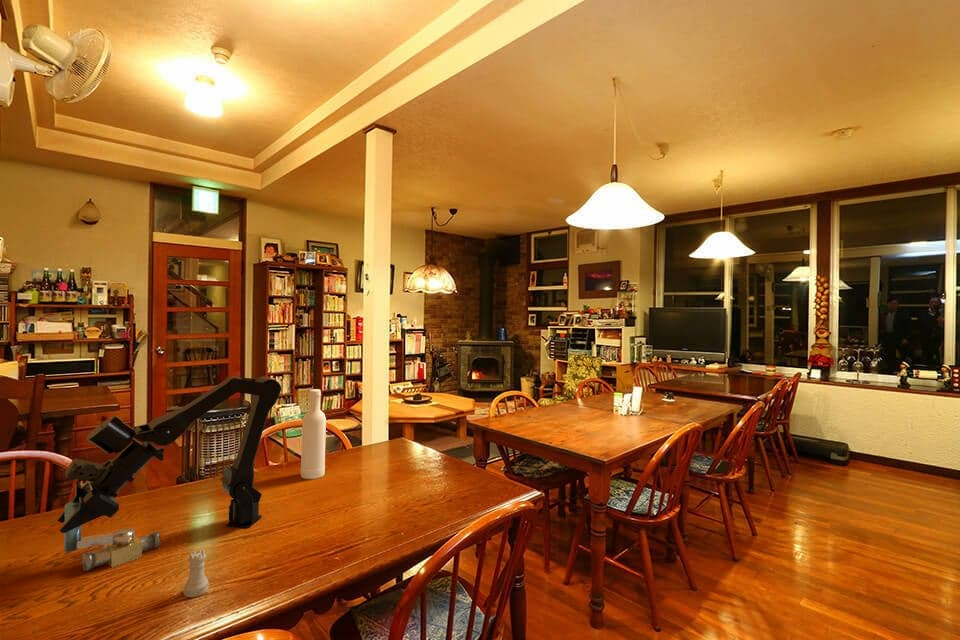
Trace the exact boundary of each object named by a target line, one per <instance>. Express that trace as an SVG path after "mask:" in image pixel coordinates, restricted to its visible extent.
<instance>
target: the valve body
mask: <svg viewBox="0 0 960 640" xmlns="http://www.w3.org/2000/svg"><path fill="white" fill-rule="evenodd" d="M161 539H162V538H161V534H160V531H158V530H155V531H152V532H151V531H150V534H147V535H144V536H141V537H137V536H136V534H134V540H133V541H131V542H129V543H127V544H123V545H113V544H106V545H103V548H102V549H99V550H96V551H93V552H92V551H87V552H84V553H82V556H81V557H82V560H81V561H82V568H83V571H84V572H89V571H91V570H93V569H95V568H97V567H100V566H103V565H106V564H108V566H109V567H110V566H111V567H112V568H114V566H115V567H117V565H118V566H121V565H123V563H124V564H126V562H127V563H130V562H132V560H133V561H135V559H136V560H138V558H139V559H141V558H143V552H145V551H148V550H151V549H153V548H154V549H156V548H159V547H160V546H161V543H162V541H161ZM129 561H130V562H129ZM120 564H121V565H120ZM111 567H110V568H111Z"/></svg>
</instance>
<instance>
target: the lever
mask: <svg viewBox="0 0 960 640" xmlns="http://www.w3.org/2000/svg"><path fill="white" fill-rule="evenodd" d="M78 507H79V501H73V502H71V501H69V502H67V503H65V504H64V510H65V522H64V524H65V523H66V522H67V520H68V519H69V518H70V517H71V516H72V515H73V513H74V512H75V511H76V510H77V509H78ZM134 535H135V529H134V528H133V527H126V528H121V529H120V528H119V529H118V530H115V531H114V532H110V533H109V532H108V533H103V534H95V535H88V536H82V525H81V526H79V527H77V528H74V529H72V530H70V531H68V532H66V533H63V536H64V537H63V538H64V539H63V540H64V541H63V551H64V553H68V552H74V551H77V550H79V549H85V548H90V547H98V546H104V545H106V544H113V545H123V544H127V543H129V542H131V541H133V540H134Z"/></svg>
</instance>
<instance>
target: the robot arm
mask: <svg viewBox="0 0 960 640" xmlns="http://www.w3.org/2000/svg"><path fill="white" fill-rule="evenodd" d="M281 392H282V385H281V384H280V382H279V381H278V380H276V379H273V378H270V377H268V376H260V377H259V376H258V378H251V377H250V378H249V377H238V376H235V375H230V376H227V377H226V378H225V379H224V380H223V381H222V382H220V383H219V384H217V385H216V386H214V387H212V388H210V389H209V390H207V391H206V392H204V393H203V394H201V395H200V396H198V397H196V398H195V399H193V400H192V401H190V402H189V403H188V404H187V403H186V404H185V405H184V406H182V407H181V408H178V409H175V410H173V411H170V412H167V413H165V414H163V415H160V416H158V417H156V418H153V419H152V420H151V421H150V422H149V423H145V424H141V425H137V426H132V427H131V426H130V425H129V424H127V423H125V422H124V421H123V420H122V419H121V418H120V417H119V416H117V415H115V414H114V415H112V417H111V418H109V419H106V420H105V421H104V422H102V423H100V424H98V425H96V427H95V428H93V430H91V432H90V433H88V435H87V436H86V438H85V440H86V441H88V442H89V443H92V444H93V445H94V446H96V447H97V448H99V449H100V450H102V451H104V452H105V453H107V454H108V455H112V454H113V453H114V454H118V455H116V457H115V458H113V459H110V458H109V459H107V460H105V461H104V462H103V463H98V462H95V461H90V460H85V459H80V458H73V459H72V460H71V462H70V463H69V465H68V467H67V468H66V470H65V472H64V475H65V479H68V480H73V481H74V480H75V481H77V482H75V485H74V486H75V487H74V489H75V494H74V496H73V497H72V499H71V500H70V502H73V501H79V507H78V509H77V510H76V511H75V512H74V513H73V515H72V516H71V517H70V518H69V519H68V520H67V522H66V523H65V509H64V510H63V511H62V513H61V514H60V516H59V517H58V519H57V522H58V523H60V524H63V523H64V524H63V525H62V526H61V528H59V532H60V533H62V534H64V533H66V532H68V531H70V530H72V529H74V528H77V527H79V526H81V527H82V525H85V524H87V523H90V522H91V521H93V520H96V519H98V518H101V517H105V516H106V517H107V518H108V519H109V518H110V519H111V518H112V517H114V516H115V515H116V514H117V512H119V510H120V503H119V501H118V499H117V498H116V497H118V496H119V491H120V490H121V489H122V488H123V487H124V486H125V485H126V484H127V483H128V482H129V483H133V481H134V480H135V479H136V478H135V477H134V476H135V475H137V473H138V472H139V471H140V470H141V469H142V468H144V466H146V465H147V463H149V462H150V461H151V460H152V459H153V458H154V457H155V459H157V460H159V461H161V462H162V461H164V460H165V459H164V451H165V448H164V447H163V446H165V447H166V446H168V445H171V444H173V443H174V442H176V441H177V440H178V439H179V438H180V437H181V436H183V434H184V433H185V432H186V431H187V429H188V428H189V427H190V426H191V425H192V424H193V423H194V422H196V421H197V420H198V419H199V418H201V417H202V416H204V415H205V414H207V413H208V412H210V411H211V410H213V409H215V408H216V407H217V406H219V405H220V404H222V403H224V402H225V401H227V400H228V399H229V398H231V397H232V396H234V395H236V394H237V393H239V394H245V395H246V394H247V395H250V411H249V414H248V417H247V420H246V421H247V422H246V424H245V427H244V431H243V435H242V438H241V440H240V444H239V447H238V451H237V454H236V457H235V459H234V461H233V462H232V464H231V465H227V464H226V465H225V466H224V471H223V475H222V476H221V478H220V479H219V481H221V485H222V489H223V490H224V492H226V494H227V495H228V496H230V498H231V500H230V505H228V522H227V523H226V524H225V525H226V527H235V528H251V527H252V526H253V525H254V524H255V523H257V522H258V521H259V520H261V519H262V517H263V515H261V514H259V512H260V511H259V509H260V500H261V498H262V495H263V494H262V493H261V492H260V491H259V490H258V489H257V488H256V487H254V479H255V475H254V474H255V473H254V471H255V470H254V462H255V459H256V455H257V452H258V449H259V445H260V443H261V439H262V435H263V432H264V429H265V425H266V422H267V418H268V415H269V413H270V411H271V409H272V408H273V407H274V406H275V405H276V403H277V401H278V399H279V397H280V395H281ZM152 443H153V444H154V445H153V444H152ZM155 445H157V446H160V447H156V446H155ZM80 482H81V483H80ZM79 483H80V484H79Z"/></svg>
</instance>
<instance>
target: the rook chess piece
mask: <svg viewBox="0 0 960 640" xmlns="http://www.w3.org/2000/svg"><path fill="white" fill-rule="evenodd" d="M206 558H207V554H206V553H205V550H203V549H202V550H201V549H198V550H197V552H196V550H193V551H192V552H190V554H189V557H188V558H187V562H188V563H190V564H189V566H188V569H189V574H188V578H187V580H186V583H185V584H184V586H183V595H184V596H185V597H187V598H189V599H190V598H197V597H198V598H199V597H200V596H203V595H204V594H205V593H206V592H207V591H208V590H209V588H210V585H209V579H208V578H207V576H206V575H205V570H204V569H205V564H206V563H205V559H206Z"/></svg>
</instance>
